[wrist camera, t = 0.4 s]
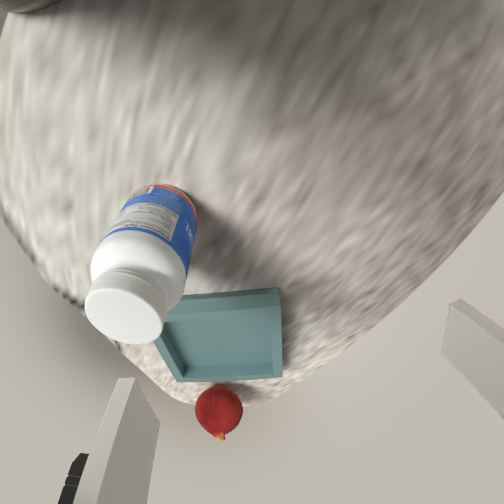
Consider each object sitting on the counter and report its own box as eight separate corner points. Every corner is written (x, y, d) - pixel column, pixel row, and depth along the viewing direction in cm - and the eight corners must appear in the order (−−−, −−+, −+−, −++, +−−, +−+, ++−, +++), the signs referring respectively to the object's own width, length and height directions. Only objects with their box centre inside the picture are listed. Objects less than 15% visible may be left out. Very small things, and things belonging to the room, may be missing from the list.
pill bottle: (188, 253, 22) (168, 363, 15) (123, 235, 21) (76, 337, 13) (207, 192, 19) (187, 298, 12) (132, 171, 18) (66, 263, 10)
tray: (144, 297, 25) (139, 315, 24) (278, 287, 25) (281, 305, 23) (179, 367, 32) (177, 381, 31) (280, 361, 32) (282, 376, 30)
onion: (215, 397, 38) (214, 448, 31) (187, 381, 35) (183, 437, 28) (250, 387, 36) (252, 442, 30) (224, 370, 33) (223, 431, 27)
